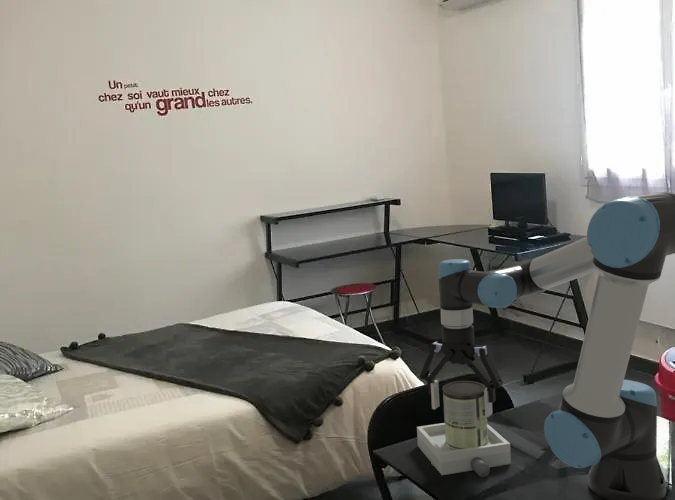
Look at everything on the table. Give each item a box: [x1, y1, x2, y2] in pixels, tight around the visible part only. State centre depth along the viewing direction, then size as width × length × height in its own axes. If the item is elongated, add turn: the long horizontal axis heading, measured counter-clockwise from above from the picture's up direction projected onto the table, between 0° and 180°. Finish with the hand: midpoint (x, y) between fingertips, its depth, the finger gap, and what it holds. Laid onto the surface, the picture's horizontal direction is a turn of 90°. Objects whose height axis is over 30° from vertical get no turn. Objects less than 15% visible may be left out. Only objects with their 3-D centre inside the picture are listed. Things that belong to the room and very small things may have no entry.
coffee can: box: [441, 380, 488, 450], centre depth 166 cm, size 10×10×14 cm
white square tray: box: [416, 422, 512, 478], centre depth 166 cm, size 21×17×5 cm
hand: (461, 411), depth 167 cm, fingers open, 13 cm apart
